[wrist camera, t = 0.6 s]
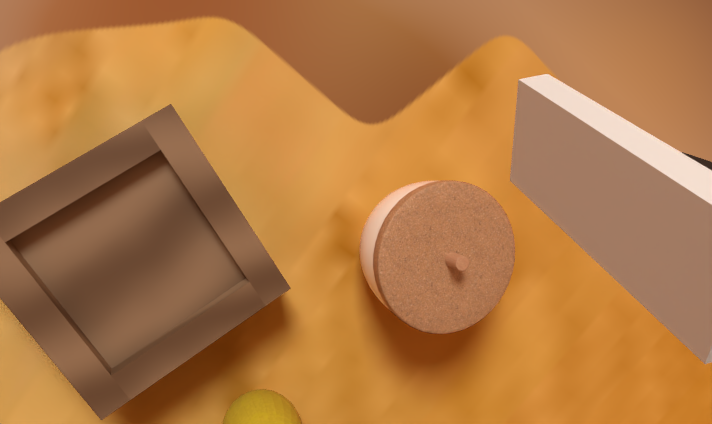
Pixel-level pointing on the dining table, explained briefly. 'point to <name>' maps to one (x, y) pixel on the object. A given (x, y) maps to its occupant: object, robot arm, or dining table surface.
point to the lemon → (262, 409)
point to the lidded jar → (438, 254)
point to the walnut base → (131, 261)
